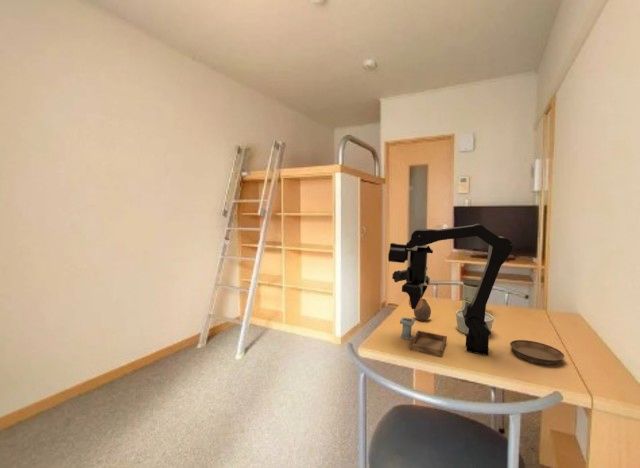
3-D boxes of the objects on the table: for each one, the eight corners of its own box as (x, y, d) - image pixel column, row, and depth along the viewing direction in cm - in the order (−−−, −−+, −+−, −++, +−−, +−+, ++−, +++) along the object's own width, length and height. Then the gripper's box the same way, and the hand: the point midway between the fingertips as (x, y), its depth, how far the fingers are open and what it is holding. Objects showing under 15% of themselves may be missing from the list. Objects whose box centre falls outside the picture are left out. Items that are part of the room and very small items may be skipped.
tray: (446, 342, 113) (446, 336, 113) (441, 357, 102) (442, 350, 101) (417, 336, 118) (418, 330, 118) (410, 349, 106) (410, 343, 106)
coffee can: (462, 306, 154) (464, 278, 152) (486, 310, 148) (488, 281, 147) (459, 312, 145) (461, 282, 144) (484, 317, 140) (487, 286, 138)
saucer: (513, 342, 114) (513, 335, 114) (564, 356, 105) (565, 348, 105) (505, 357, 103) (506, 349, 103) (562, 373, 94) (563, 365, 93)
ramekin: (453, 334, 121) (454, 316, 120) (456, 323, 132) (457, 306, 132) (492, 341, 115) (494, 323, 114) (492, 329, 126) (493, 312, 125)
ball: (427, 302, 113) (418, 291, 115) (424, 306, 109) (414, 295, 111) (417, 309, 116) (408, 298, 117) (413, 314, 112) (404, 302, 113)
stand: (413, 335, 118) (414, 319, 117) (412, 340, 114) (413, 323, 113) (401, 333, 120) (402, 317, 119) (399, 338, 116) (400, 321, 115)
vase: (427, 323, 131) (428, 303, 130) (411, 319, 135) (412, 299, 134) (432, 319, 136) (433, 299, 135) (416, 315, 140) (417, 296, 139)
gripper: (401, 258, 124) (399, 296, 125) (388, 265, 107) (385, 310, 109) (431, 261, 119) (428, 301, 120) (422, 270, 102) (418, 316, 104)
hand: (415, 307), depth 113 cm, fingers closed on ball, 5 cm apart
